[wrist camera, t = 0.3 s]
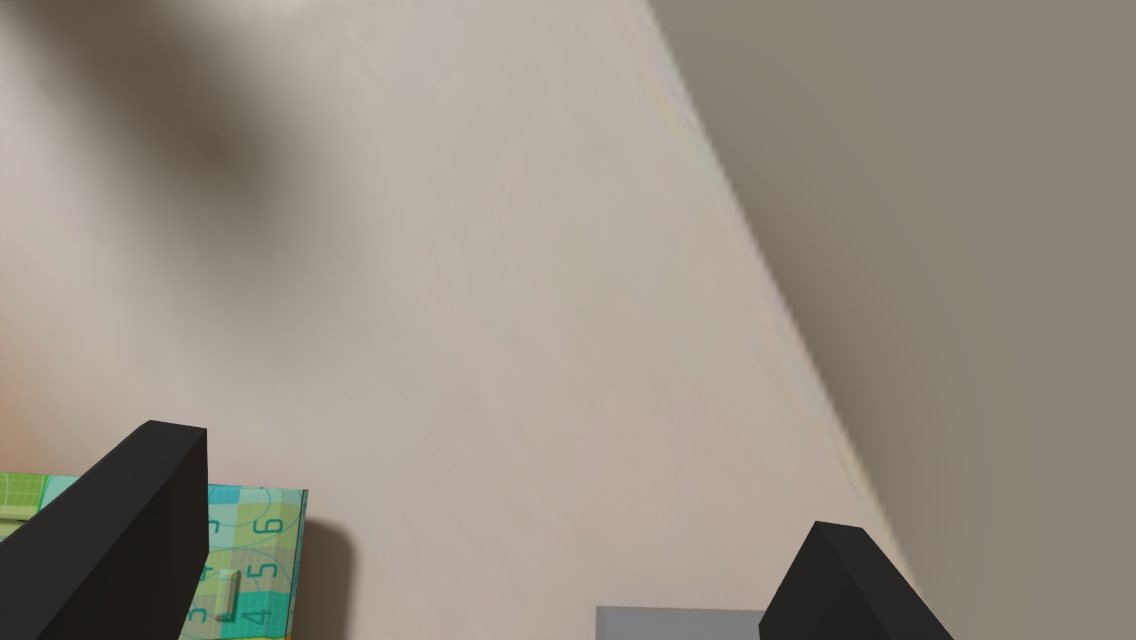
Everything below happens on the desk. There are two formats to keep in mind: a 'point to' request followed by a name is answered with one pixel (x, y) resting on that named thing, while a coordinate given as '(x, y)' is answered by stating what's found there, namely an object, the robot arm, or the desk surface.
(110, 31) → the desk surface
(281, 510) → the puzzle game
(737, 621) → the trap channel
